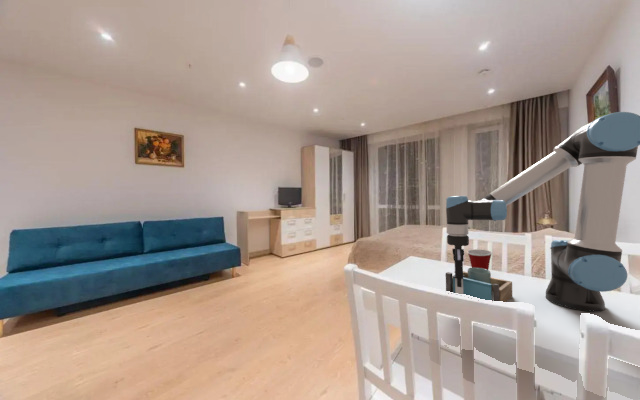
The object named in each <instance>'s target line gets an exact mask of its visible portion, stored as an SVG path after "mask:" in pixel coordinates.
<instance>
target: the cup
mask: <svg viewBox="0 0 640 400" xmlns="http://www.w3.org/2000/svg"><path fill="white" fill-rule="evenodd" d="M467 272H468V279H472V280H477V281H481V282H485V283H489V284H491V277H492V276H491V274H492V273H491V271H490V270H489V269H488V270H487V269H483V268H472V267H468V268H467Z"/></svg>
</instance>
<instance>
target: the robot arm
mask: <svg viewBox="0 0 640 400" xmlns="http://www.w3.org/2000/svg"><path fill="white" fill-rule="evenodd" d="M639 146H640V115H639V114H637V113H635V112H629V111H617V112H612V113H609V114H605V115H602V116H598V117H597V118H596V119H594V120H592V121H591V122H589V123H586V124H584V125H583V126H581V127H580V128H578V129H577V130H576V131H575V132H573V133H572V134H571V135H570V136H569V137H567V138H566V139H565V140H564V141H562V142H561V143H559V144H558V145H556V146H555V147H553V150H552V152H551V153H550V154H548V155H546V156H545V157H543V158H542V159H541V160H539V161H537V162H536V163H534V164H533V165H531V166H529V167H528V168H527V169H526V170H523V171H522V172H520V173H519V174H517V175H515V177H513V178H511V179H510V180H508V181H506V182H505V183H503V184H502V185H500V186H499V187H498V188H496V189H494V190H493V191H492V192H490V193H488V194H487V195H485V196H484V197H482V198H480V199H478V200H469V198H468V195H453V196H452V195H451V196H448V197H447V198H446V199H445V200H446V202H445V203H446V204H445V205H446V206H445V210H446V211H445V212H446V214H445V215H446V233H447V235H446V243H447V244H448V245H450V246H454V248H452V254H453V255H452V256H453V257H452V258H453V261H454V275H455V276H454V275H452V276H453V278H455V293H459V294H463V277H464V275H463V271H464V260H465V259H464V256H465V249H464V248H462V247H467V246H469V245H470V237H469V230H470V229H471V226H469V221H493V222H497V221H505V220H506V219H507V218H508V217H507V216H508V207H507V206H508V205H511V204H512V203H513V202H515V201H517V200H518V199H520V198H522V197H523V196H525V195H527V194H528V193H530V192H532V191H534V190H535V189H536V188H539V187H540V186H542V185H543V184H545V183H547V182H549V181H550V180H552V179H554V178H555V177H557V176H558V175H560V174H562V173H564V171H566V170H568V169H571V168H578V167H579V166H580V165H582V164H583V171H582V172H583V173H582V180H581V181H582V182H581V188H580V189H581V190H580V196H579V204H578V210H577V220H576V226H575V233H574V238H571V239H569V240H566V239H562V240H561V239H554V240H552V241H551V243H550V247H549V249H550V260H551V261H550V262H551V263H550V264H551V265H550V266H551V279H550V281H549V283H548V285H547V288H546V290H545V298H546V299H547V300H548V301H550V302H551V303H554V304H556V305H558V306H561V307H565V308H567V309H573V310H577V311H584V312H594V313H595V312H598V313H599V312H603V311H605V310H606V308H605V307H606V302H605V300H604V298H603V296H602V294H601V292H604V293H605V292H611V291H615V290H616V289H617V290H618V289H620V288H621V287H622V286H624V285H625V283H626V282H627V280H628V272H627V271H628V270H627V269H626V266H625V265H624V264H623V263H622V261H621V260H622V254H623V249H622V248H621V247H620V246H618V245H617V244H616V240H617V232H618V226H619V222H620V220H619V219H620V213H621V206H622V200H623V191H624V188H625V187H624V185H625V181H626V180H625V178H626V172H627V166H628V164H630V163H632V162H633V161H635V160H636V159H637V155H638V154H637V153H638V147H639Z"/></svg>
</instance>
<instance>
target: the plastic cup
mask: <svg viewBox="0 0 640 400" xmlns="http://www.w3.org/2000/svg"><path fill="white" fill-rule="evenodd" d="M466 253H467V254H468V257H469V261H470V268H483V269H487V270H489V268H490V260H491V257H492V254H493V252H492V250H491V251H490V250H488V249H480V248H479V249H468V250H467V251H466Z"/></svg>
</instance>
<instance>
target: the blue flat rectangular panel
mask: <svg viewBox="0 0 640 400" xmlns="http://www.w3.org/2000/svg"><path fill="white" fill-rule="evenodd" d="M453 276H455V274H454V275H453ZM453 292H454V293H455V278H453ZM454 293H453V294H454ZM463 294H466V295H470V296H473V297H477V298H480V299H485V300H492V301H493V293H492V284H489V283H485V282H481V281H477V280H472V279H468V278H464V277H463Z"/></svg>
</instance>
